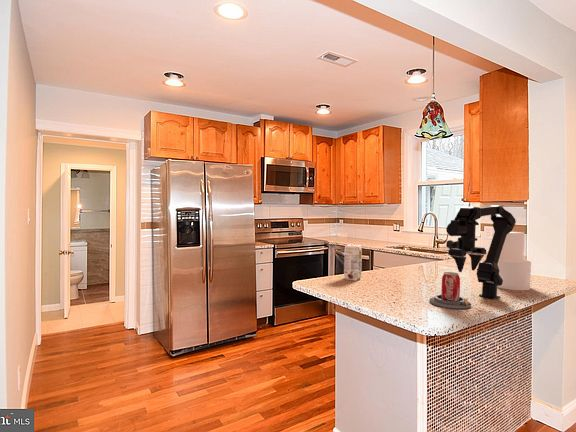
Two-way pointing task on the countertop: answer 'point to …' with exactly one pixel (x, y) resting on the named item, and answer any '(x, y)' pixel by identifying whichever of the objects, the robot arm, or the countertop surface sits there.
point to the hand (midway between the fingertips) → (466, 271)
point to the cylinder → (514, 263)
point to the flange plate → (450, 303)
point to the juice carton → (352, 262)
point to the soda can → (450, 286)
